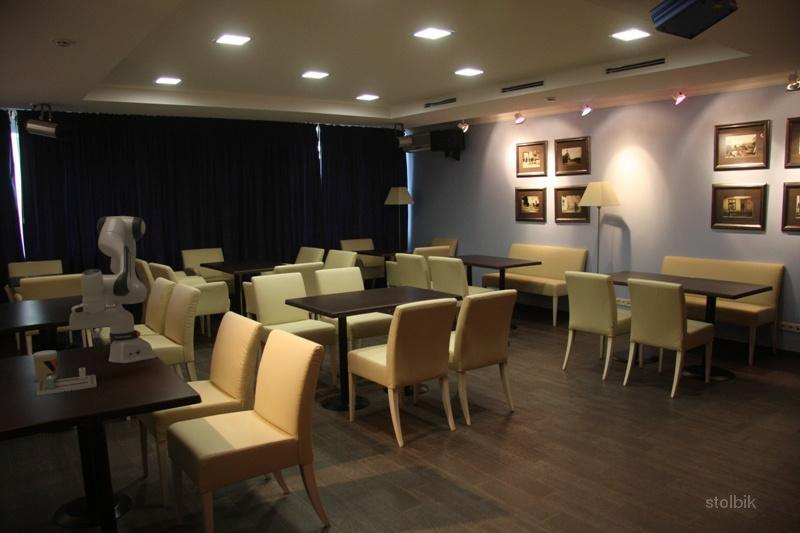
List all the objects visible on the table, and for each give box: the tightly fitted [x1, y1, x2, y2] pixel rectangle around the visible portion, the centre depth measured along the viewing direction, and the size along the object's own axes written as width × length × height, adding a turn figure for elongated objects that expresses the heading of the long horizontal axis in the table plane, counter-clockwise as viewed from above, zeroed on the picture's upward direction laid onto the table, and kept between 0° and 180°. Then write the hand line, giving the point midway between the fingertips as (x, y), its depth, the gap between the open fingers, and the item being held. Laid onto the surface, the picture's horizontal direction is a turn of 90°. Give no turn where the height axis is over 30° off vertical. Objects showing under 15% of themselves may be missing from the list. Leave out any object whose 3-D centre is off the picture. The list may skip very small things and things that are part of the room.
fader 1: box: [46, 376, 55, 389], centre depth 251 cm, size 2×4×4 cm, turn 29°
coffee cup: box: [32, 349, 58, 382], centre depth 269 cm, size 9×9×12 cm
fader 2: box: [78, 366, 87, 380], centre depth 263 cm, size 2×4×4 cm, turn 29°
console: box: [36, 373, 98, 396], centre depth 257 cm, size 22×15×2 cm
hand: (96, 337), depth 265 cm, fingers closed
